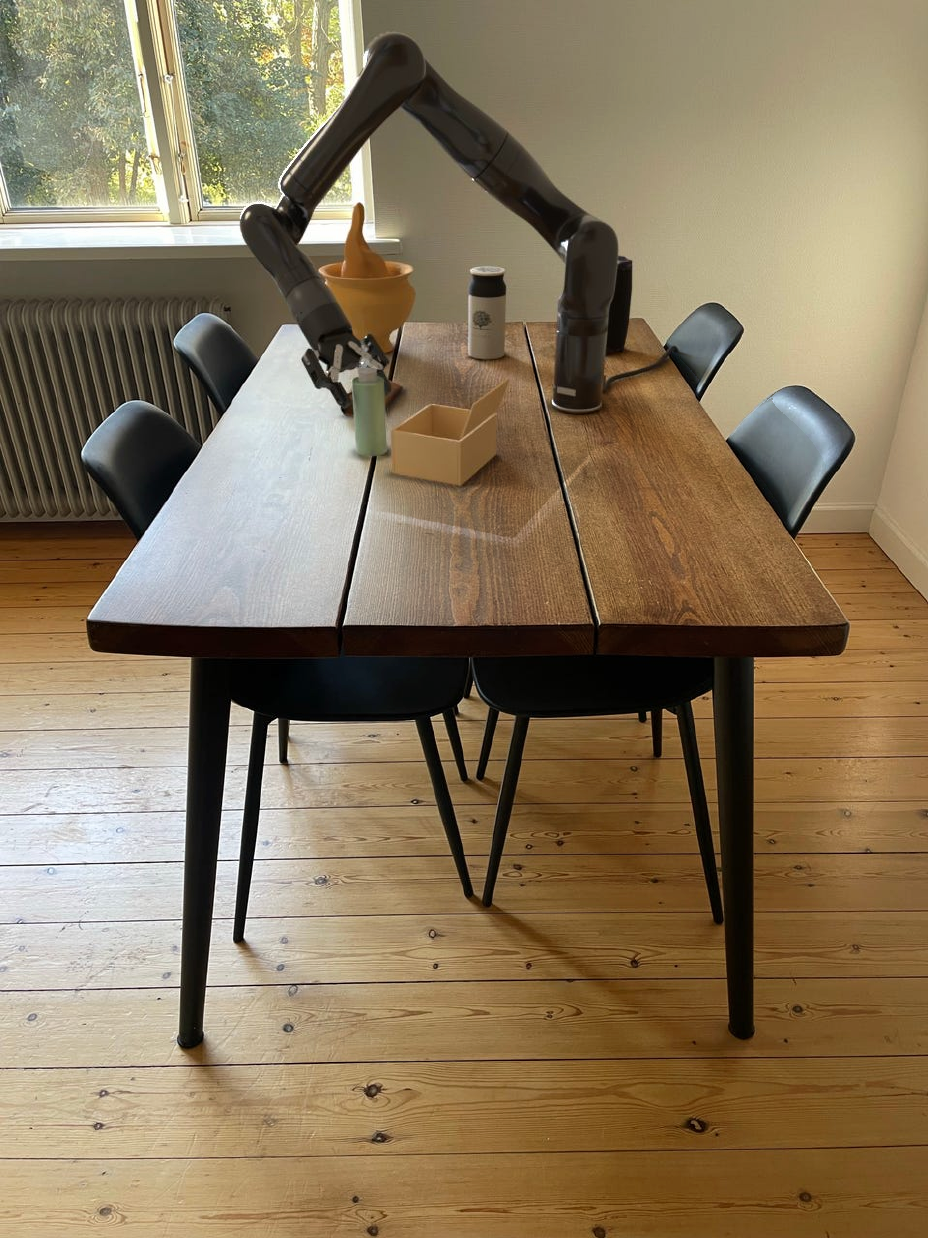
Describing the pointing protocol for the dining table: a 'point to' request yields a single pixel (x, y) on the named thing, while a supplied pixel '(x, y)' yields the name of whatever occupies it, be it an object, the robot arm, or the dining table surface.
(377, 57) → the robot arm
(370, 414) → the water bottle
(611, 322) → the portable speaker
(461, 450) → the carton
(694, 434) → the dining table surface
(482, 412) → the flap
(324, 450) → the dining table surface
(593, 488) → the dining table surface
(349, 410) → the leather pouch
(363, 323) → the mortar and pestle
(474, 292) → the travel mug
